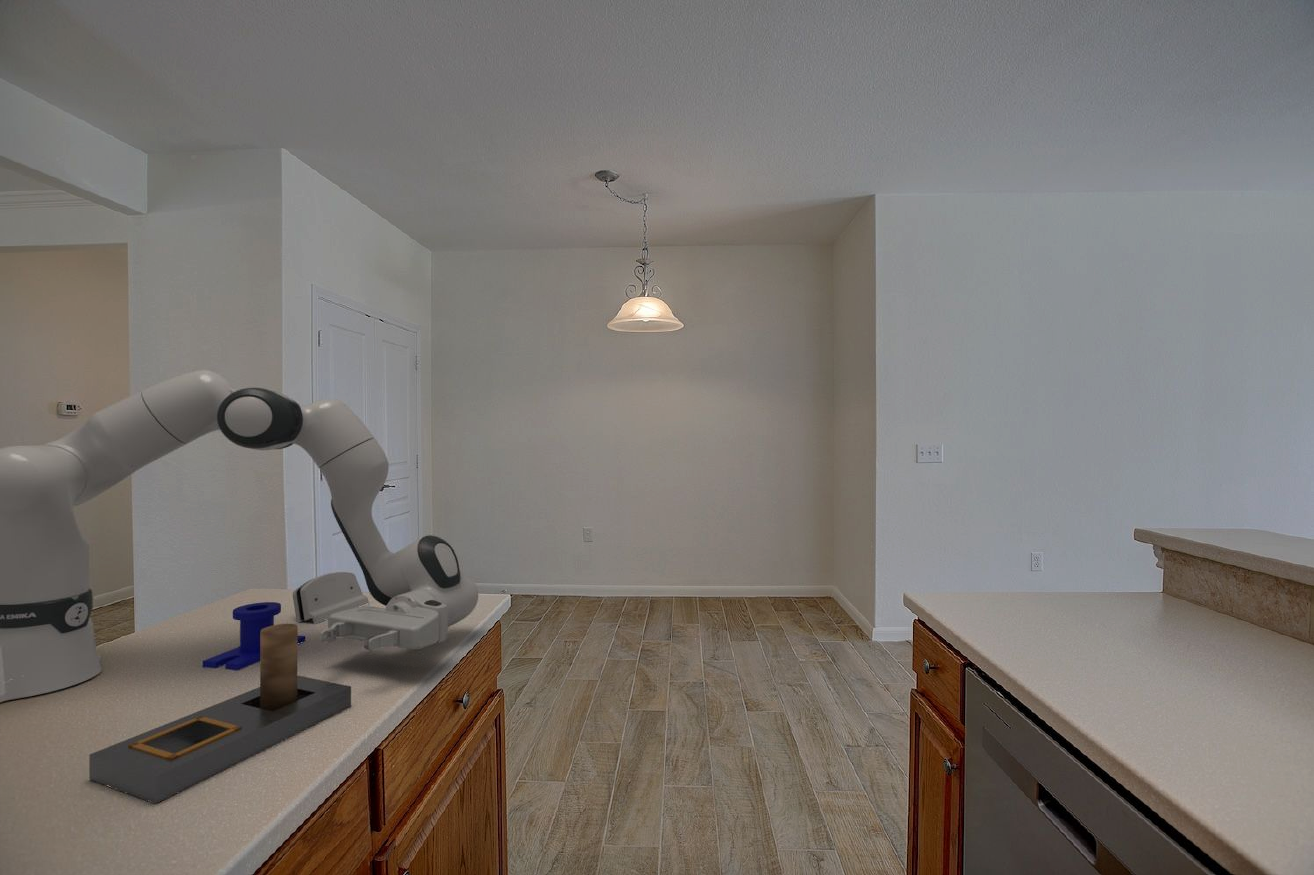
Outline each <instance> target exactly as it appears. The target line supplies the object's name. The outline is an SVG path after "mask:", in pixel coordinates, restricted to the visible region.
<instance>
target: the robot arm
mask: <svg viewBox="0 0 1314 875" xmlns="http://www.w3.org/2000/svg"><path fill="white" fill-rule="evenodd" d="M219 430H220V432H221V434H223V436H224V437H225V438H226V439H227V440H229V441H230V442H232V443H233V444H234V445H237V446H239V447H242V448H246V449H251V450H256V451H271V450H272V451H273V450H282V449H286V448H288V447H290V446H293V445H297V446H299V447H300V448H302V449H303V450H304V451H305V452H306V454H308V455H309V456H310V458H311V459H312V461H313V462H314V463H315V465H316V467H317V468H318V469H319V470H320V473H321V474H322V475H323V477H324V478H325V481H326V483H327V485H328V489H329V492H330V496H331V498H330V499H331V500H330V508H331V511H332V514H333V516H334V519H335V520H336V522H337V524H338V527H339V528H340V531H341V532H342V534H343V536H344V538H345V540H346V542H347V544H348V545H349V548H350V549H351V551H352V553H353V555H354V557H355V559H356V561H357V563H358V565H359V567H360V569H361V570H362V573H363V576H364V580H365V583H366V587H367V590H368V592H369V594H370V595H371V597H372V598H373V599H374V600H375V601H377V602H378V603H379V604H381V605H383V606H385V608H383V607H376V606H369V605H366V606H362V607H356V608H352V609H348V610H344V611H340V612H336V613H333V614H331V615H330V616H329V618H328V620H327V628H326V629H325V630H322V631H321V632H320V641H321V642H322V643H332V642H335V641H337V638H344V639H349V640H356V641H361V642H363V643H364V644H363V648H364V650H369V651H375V650H377V649H380V648H387V647H396V648H400V649H401V648H402V649H408V650H418V649H424V648H426V647H429V646H431V645H434V644H435V643H436V644H437V643H441V642H444V641H446V640H447V637H448V628H449V627H451V626H454V625H456V624H457V623H460V622H461V621H462V620H464V619H465V618H467V617H468V616H469V615H471V614H472V613H473V611H474V610H475V609H476V606H477V604H478V601H479V590H478V587H477V584H476V582H474V580H473V579H472V578H470V576H469V577H468V576H467V575H466V574H464V572H462V570H461V569H460V564H459V560H458V556H457V555H456V552H455V550H454V548H453V547H452V546H451V545H450V543H448V542H447V541H446V540H445V539H443V538H441V537H440V536H436V535H429V534H428V535H425V536H422V537H421V538H419V539H417V540H416V541H413V542H412V543H410V544H408V545H406V546H405V547H403V548H402V549H400V550H398V551H396V552H394V553H393V551H390V549H389V548H388V547H387V546H388V545H387V544H386V543H385V540H384V538H383V536H382V535H381V533H380V531H379V529H378V527H377V525H376V523H375V521H374V518H373V515H372V514H373V513H372V511H373V505H374V502H375V500H376V498H377V496H378V494H379V493H380V491H381V490H382V488H383V486H384V485H385V483H386V480H387V478H388V475H389V474H388V473H389V461H388V458H387V455H386V453H385V451H384V449H383V448H382V446H381V445H380V443H379V442H378V441H377V440H376V438H375V436H374V435H373V434H372V432H371V431H370V430H369V428H368V427H367V426H366V425H365V423H364V422H363V421H362V420H361V419H360V418H359V416H357V415H356V413H355V412H354V411H353V410H352V409H351V408H350V407H349V406H348V405H346V404H345V402H344V401H341V400H339V399H336V398H324V399H320V400H316V401H314V402H311V403H309V404H307V405H300V404H299V403H297V402H296V401H295V400H294V399H292V398H290V397H288V395H285V394H284V393H281V392H279V391H275V390H269V389H267V388H263V387H246V388H241V389H239V390H237V389H236V388H235V387H234V386H233V385H232V383H231V382H230V381H229V380H227V378H226V377H224V376H223V375H221V374H219V373H217V372H216V371H213V370H208V369H198V370H197V369H196V370H194V371H190V372H188V373H184V374H180V375H176V376H174V377H171V378H168V379H166V380H162V381H160V382H158V383H155V384H154V385H151V386H148V387H147V388H145V389H142V390H140V391H138V392H136V393H134V394H132V395H130V396H128V397H125V398H124V399H121V400H119V401H117V402H115V403H114V404H111V405H109V406H106V407H105V408H103V409H100V410H99V411H96V412H94V413H93V414H92V415H90V417H89V418H88V420H86V421H85V422H84V423H83V424H81V425H79V426H78V427H77V428H76V429H73V430H72V431H70V432H69V433H68V434H66V435H64V436H62V437H60V438H58V439H57V440H53V441H50V442H47V443H43V444H37V445H35V444H34V445H33V444H32V445H11V446H4V447H1V448H0V703H3V702H5V701H9V700H17V699H22V698H23V699H24V698H28V697H32V696H37V695H43V694H47V693H51V692H54V691H58V690H62V689H66V688H69V687H72V686H75V685H77V684H80V683H82V682H86V681H87V680H89V679H92V678H93V677H95V676H97V675H99V674H100V673H101V672H102V671H103V668H102V666H101V661H102V660H101V658H102V657H101V654H98V651H97V650H98V649H97V644H96V638H95V629H94V624H93V619H92V618H91V615H92V614H91V613H92V611H93V609H94V608H93V607H94V606H93V601H94V595H93V590H92V589H91V588H90V546H89V543H88V541H87V540H86V538H84V537H83V535H82V534H81V531H80V528H79V527H78V526H79V525H78V524H77V520H76V516H75V512H74V507H78V506H81V505H82V504H85V503H86V502H88V501H91V500H92V499H94V498H95V497H98V496H99V495H101V494H102V493H104V492H106V491H108V490H109V489H111V488H113V487H114V486H116V485H117V484H119V483H121V482H122V481H124V480H125V479H127V478H128V477H129V476H131V475H132V474H134V473H135V472H137V471H139V470H140V469H142V468H143V467H144V468H145V467H146V466H148V465H150V464H151V463H153V462H155V461H157V460H159V459H161V458H163V457H164V456H166V455H169V454H171V453H172V452H174V451H176V450H178V449H180V448H181V447H184V446H186V445H187V444H189V443H191V442H193V441H196V440H197V439H199V438H200V437H203V436H205V435H207V434H210V433H213V432H216V431H219ZM23 675H24V676H23ZM21 676H22V677H21ZM10 679H13V680H10ZM8 680H9V681H8ZM7 681H8V682H7ZM3 682H6V683H3Z"/></svg>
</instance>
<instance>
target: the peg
mask: <svg viewBox="0 0 1314 875" xmlns="http://www.w3.org/2000/svg"><path fill="white" fill-rule="evenodd" d="M298 627H299V626H298V625H297V624H296V623H280V624H279V623H278V624H274V625H273V626H269V627H266V628H264V629H262V630H261V631H260V661H259V664H260V665H259V666H260V668H259V670H260V672H259V674H260V675H259V676H260V677H259V678H260V679H259V683H260V684H259V685H260V686H259V687H260V709H264V710H268V711H272V712H273V711H275V710H278V709H280V708H282V707H284V706H287V705H289V704H291V703H293V702H296V701H297V675H298V645H299V644H298V630H299V629H298Z"/></svg>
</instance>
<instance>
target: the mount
mask: <svg viewBox="0 0 1314 875" xmlns="http://www.w3.org/2000/svg"><path fill="white" fill-rule="evenodd" d="M281 612H282V604H281V603H279V602H274V601H266V602H256V603H255V602H254V603H250V604H249V603H248V604H244V605H241V606H238V607H236V608H234V609H232V619H233V620H235V621H239V646H238V647H235V648H233V649H232V648H231V649H229V650H227V651H225V652H222V653H218V654H217V655H214V656H212V657H209V658H207V659H205V660H202V666H201V667H202V668H206V669H207V668H209V669H217V668H220V667H222V666H224V667H225V670H229V671H240V670H243V669H245V668H247V667H250V666H251V665H254V664H256V663H260V631H261V630H262V629H264V628H266V627H269V626H273V625H275V616H278V615H279V614H280V613H281ZM304 641H305V642H306V635H298V643H300V644H302V643H301V642H303V643H305V642H304ZM249 665H250V666H249Z"/></svg>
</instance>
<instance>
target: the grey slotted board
mask: <svg viewBox="0 0 1314 875" xmlns="http://www.w3.org/2000/svg"><path fill="white" fill-rule="evenodd" d="M351 707H352V686H350V685H347V684H346V685H345V684H341V683H337V682H332V681H331V682H330V681H326V680H321V679H317V678H312V677H307V676H304V675H303V676H302V675H298V674H297V701H296V702H293V703H291V704H289V705H287V706H284V707H282V708H280V709H278V710H275V711H273V712H272V711H268V710H264V709H260V686H259V687H256V688H254V689H251V690H249V691H246V692H244V693H241V694H238V695H236V696H233V697H231V698H228V699H226V700H222V701H221V702H218V703H215V704H212V705H210V706H208V707H207V708H203V709H201V710H198V711H196V712H193V713H191V714H188V715H186V716H182V717H181V718H178V719H176V720H172V721H170V722H167V723H165V724H163V725H160V726H158V727H156V728H153V729H150V730H148V731H145V732H142V733H140V734H138V735H135V736H133V737H130V738H128V739H125V740H122V741H121V742H118V743H115V744H113V745H111V746H108V747H106V748H103V749H100V750H98V751H95V752H93V753H92V752H91V753H90V754H89V755H88V756H89V760H88V761H89V764H88V765H89V771H88V773H89V777H88V779H90V780H89V781H91V780H93V781H92V782H94V781H96V782H99V783H102V784H104V785H103V786H105V785H109V786H111V787H113V788H116V789H118V790H120V791H119V792H121V791H122V792H121V793H124V792H127V793H129V794H128V795H130V794H131V795H130V796H132V795H134V796H133V797H135V796H137V797H136V798H138V797H140V798H139V799H141V798H142V799H141V800H143V799H146V800H149V801H151V802H150V803H152V802H153V803H152V804H155V805H157V804H159V803H160V801H161V802H162V800H163V799H165V800H167V799H169V798H171V797H173V796H174V794H175V795H176V793H177V792H179V793H181V792H182V791H184V790H186V789H189V788H191V787H193V786H195V785H196V784H199V783H201V782H203V781H205V780H207V779H208V778H211V777H213V776H214V775H217V774H218V773H221V772H222V771H225V770H226V769H227V770H228V768H231V767H233V766H235V765H237V764H239V763H241V762H243V761H245V760H246V759H248V758H251V757H252V756H255V755H257V754H259V753H260V752H262V751H264V750H266V749H269V748H270V747H273V746H275V745H277V744H279V743H280V742H282V741H284V740H285V741H286V739H288V738H290V737H292V736H295V735H297V734H299V733H300V732H302V731H304V730H307V729H309V728H310V727H312V726H314V725H316V724H318V723H321V722H323V721H325V720H326V719H329V718H330V717H332V716H335V715H336V714H339V713H341V712H342V711H344V710H347V709H348V708H351ZM96 782H95V783H96ZM99 783H98V784H99ZM102 784H101V785H102ZM192 785H193V786H192ZM190 786H191V787H190ZM188 787H189V788H188ZM113 788H112V789H113ZM116 789H115V790H116ZM118 790H117V791H118ZM127 793H126V794H127ZM177 794H178V793H177ZM172 795H173V796H172ZM170 796H171V797H170ZM146 800H145V801H146ZM149 801H148V802H149ZM163 801H164V800H163ZM158 802H159V803H158ZM156 803H157V804H156Z"/></svg>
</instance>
